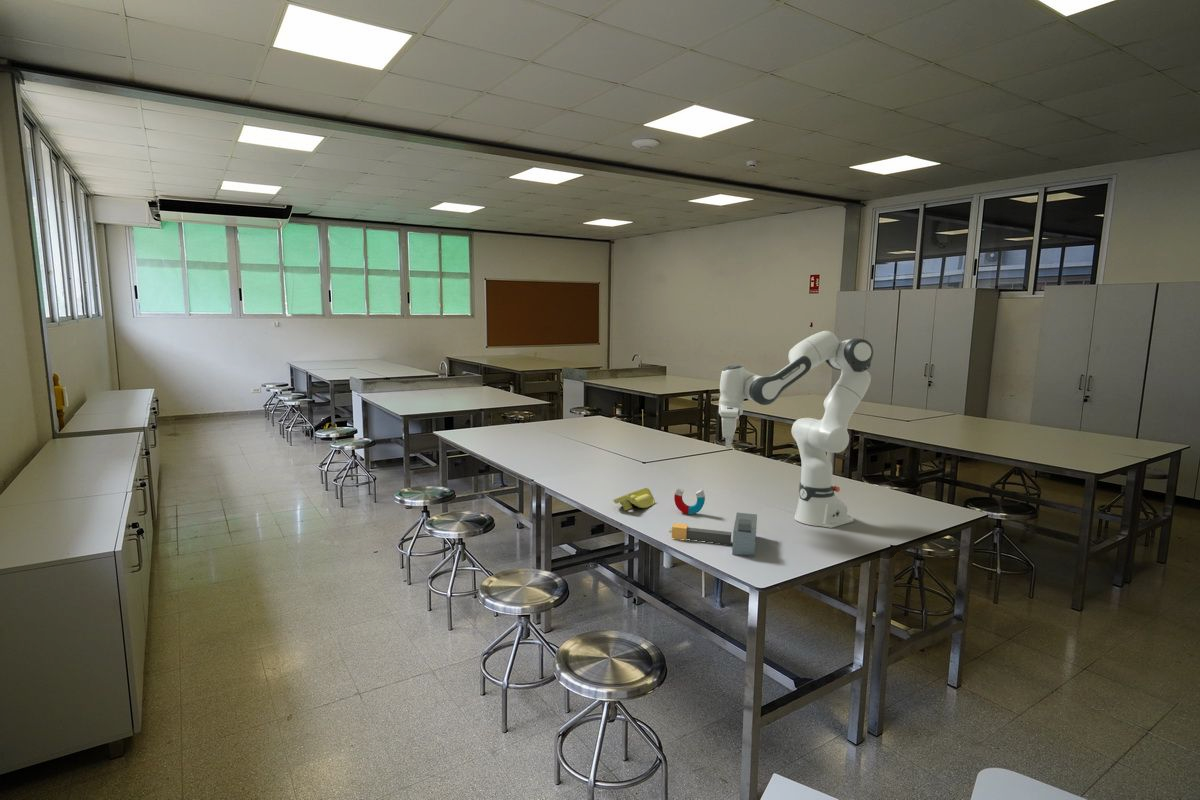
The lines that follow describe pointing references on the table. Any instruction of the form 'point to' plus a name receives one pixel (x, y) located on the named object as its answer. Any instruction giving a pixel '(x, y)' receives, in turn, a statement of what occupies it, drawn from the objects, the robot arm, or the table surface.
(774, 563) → the table surface
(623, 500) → the plastic component
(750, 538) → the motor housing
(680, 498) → the magnet
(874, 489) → the table surface
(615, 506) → the table surface
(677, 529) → the plug
